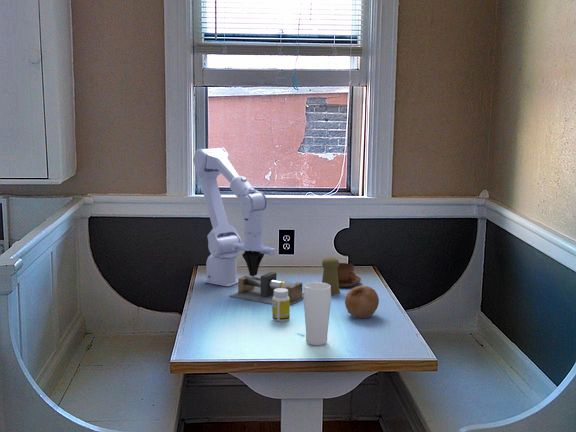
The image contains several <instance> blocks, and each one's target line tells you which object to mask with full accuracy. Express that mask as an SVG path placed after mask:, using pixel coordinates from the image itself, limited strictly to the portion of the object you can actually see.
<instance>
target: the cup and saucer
mask: <svg viewBox="0 0 576 432" xmlns="http://www.w3.org/2000/svg"><path fill="white" fill-rule="evenodd" d="M354 270H355V266H354V264H352V263H347V262H342V263H341V262H339V267H338V268H337V273H338V282H339V288H340V287H345V288H346V287H353V286H357V285H358V284H360V283H361V281H362V280H361V277H360V276H358V275H356V273H355V271H354Z"/></svg>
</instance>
